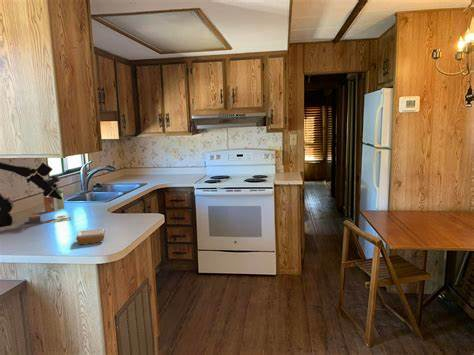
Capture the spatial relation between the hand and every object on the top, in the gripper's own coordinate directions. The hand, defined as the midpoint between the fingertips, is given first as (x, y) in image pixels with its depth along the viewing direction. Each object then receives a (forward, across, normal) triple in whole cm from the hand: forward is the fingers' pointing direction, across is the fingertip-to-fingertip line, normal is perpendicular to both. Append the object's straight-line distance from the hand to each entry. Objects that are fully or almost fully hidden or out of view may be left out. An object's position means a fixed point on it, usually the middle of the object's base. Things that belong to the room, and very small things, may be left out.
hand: (62, 198), depth 219 cm
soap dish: (+23, -59, -5) cm, 63 cm away
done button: (-4, -4, +18) cm, 19 cm away
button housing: (-2, -4, +20) cm, 20 cm away
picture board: (+8, -3, +10) cm, 13 cm away
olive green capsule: (+4, 0, +6) cm, 7 cm away
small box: (+2, +26, +16) cm, 30 cm away
